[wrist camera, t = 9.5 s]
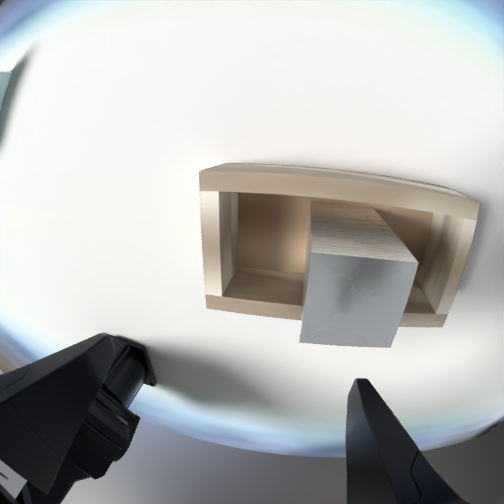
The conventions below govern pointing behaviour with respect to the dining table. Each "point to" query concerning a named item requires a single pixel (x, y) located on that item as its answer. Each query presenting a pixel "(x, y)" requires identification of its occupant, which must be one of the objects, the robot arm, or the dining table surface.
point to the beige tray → (296, 228)
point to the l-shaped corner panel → (4, 84)
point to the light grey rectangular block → (353, 278)
